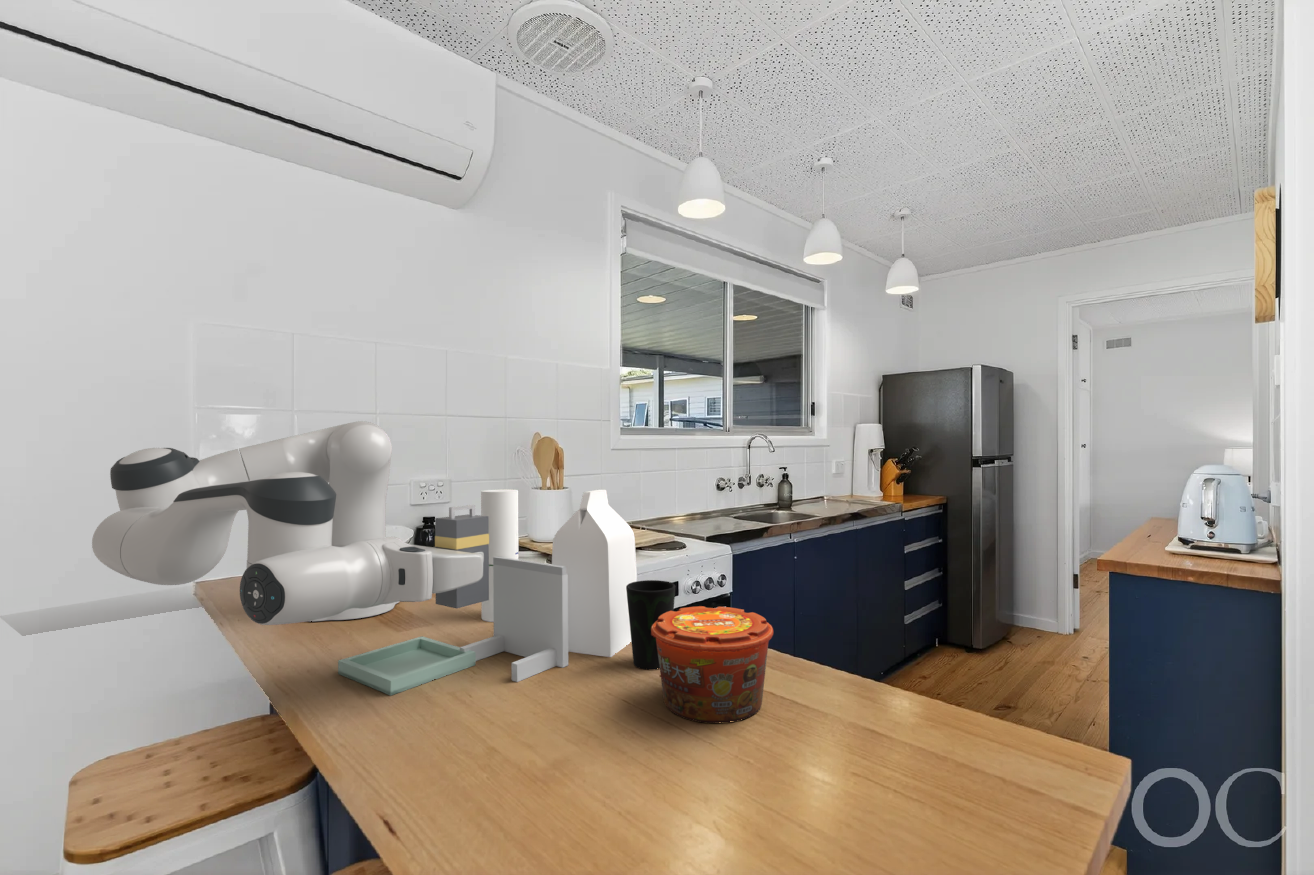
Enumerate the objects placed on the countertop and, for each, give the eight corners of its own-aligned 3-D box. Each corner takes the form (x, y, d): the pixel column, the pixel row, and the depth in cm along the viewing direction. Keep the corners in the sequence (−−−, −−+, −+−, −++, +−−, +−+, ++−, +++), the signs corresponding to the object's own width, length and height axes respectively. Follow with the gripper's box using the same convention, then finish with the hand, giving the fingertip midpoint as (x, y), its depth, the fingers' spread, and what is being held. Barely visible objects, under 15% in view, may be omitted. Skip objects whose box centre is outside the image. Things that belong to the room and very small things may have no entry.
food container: (687, 741, 70) (686, 647, 70) (632, 691, 84) (632, 612, 84) (800, 714, 76) (799, 628, 76) (731, 672, 91) (730, 599, 91)
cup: (652, 651, 100) (651, 577, 100) (686, 662, 95) (685, 585, 95) (616, 663, 95) (615, 585, 95) (650, 676, 89) (650, 594, 89)
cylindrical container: (523, 612, 124) (522, 489, 125) (511, 622, 117) (511, 491, 117) (489, 611, 125) (489, 489, 125) (475, 621, 118) (475, 491, 118)
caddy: (435, 603, 93) (434, 507, 93) (467, 595, 98) (467, 503, 98) (456, 608, 90) (456, 508, 90) (489, 599, 95) (489, 505, 95)
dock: (454, 661, 96) (453, 564, 96) (499, 646, 103) (498, 556, 103) (523, 684, 87) (523, 576, 87) (568, 665, 94) (567, 566, 94)
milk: (610, 657, 97) (609, 494, 98) (548, 648, 102) (547, 492, 102) (640, 635, 109) (639, 489, 109) (583, 628, 113) (582, 487, 113)
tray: (338, 673, 91) (338, 660, 91) (422, 648, 102) (422, 636, 102) (390, 695, 83) (390, 680, 83) (475, 665, 94) (475, 652, 94)
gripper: (342, 584, 89) (425, 568, 100) (429, 603, 77) (512, 583, 89) (342, 541, 89) (425, 529, 100) (429, 554, 78) (511, 539, 89)
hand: (467, 555), depth 95 cm, fingers closed on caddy, 5 cm apart
